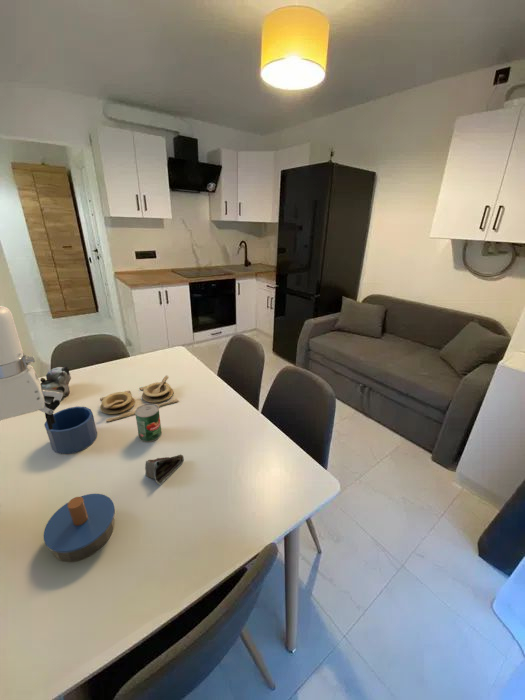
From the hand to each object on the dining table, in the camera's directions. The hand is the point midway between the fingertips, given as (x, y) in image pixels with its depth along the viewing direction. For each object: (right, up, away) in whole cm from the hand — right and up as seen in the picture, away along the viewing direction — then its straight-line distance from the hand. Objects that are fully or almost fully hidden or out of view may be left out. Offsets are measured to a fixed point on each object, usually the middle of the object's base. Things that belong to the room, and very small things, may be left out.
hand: (24, 433), depth 66 cm
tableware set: (0, -3, +60) cm, 60 cm away
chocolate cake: (+22, -19, +27) cm, 40 cm away
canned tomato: (+13, -12, +41) cm, 45 cm away
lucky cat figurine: (-38, -1, +62) cm, 73 cm away
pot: (-12, -13, +37) cm, 41 cm away
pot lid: (+10, -23, +5) cm, 25 cm away
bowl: (+9, -27, +7) cm, 29 cm away
